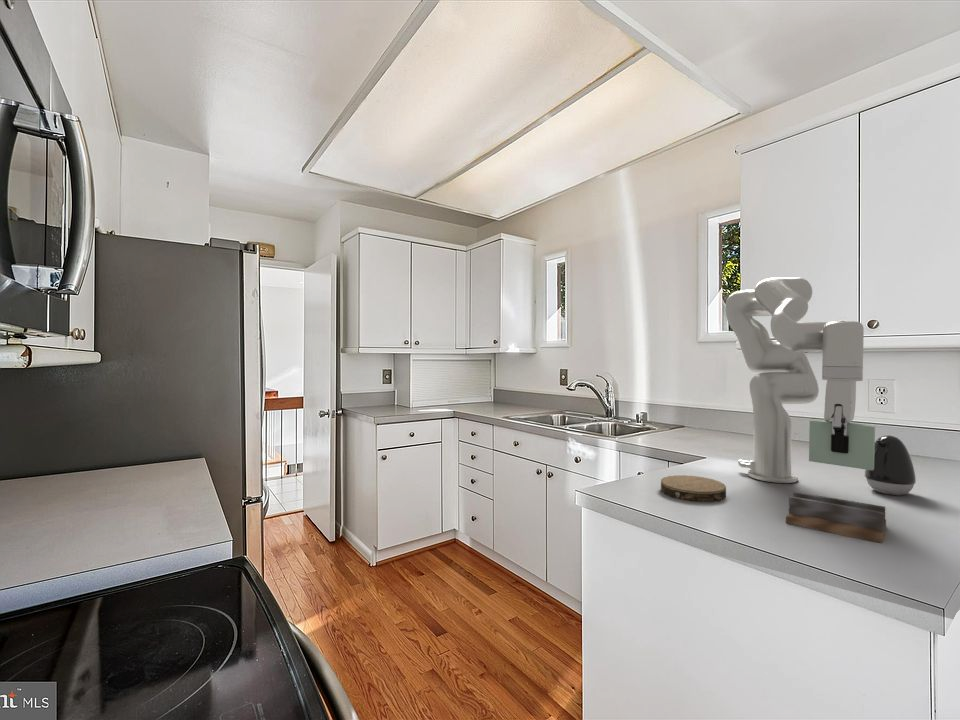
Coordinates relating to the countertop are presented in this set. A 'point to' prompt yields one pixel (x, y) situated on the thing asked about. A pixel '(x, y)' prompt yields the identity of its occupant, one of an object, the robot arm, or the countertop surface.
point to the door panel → (858, 445)
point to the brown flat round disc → (693, 488)
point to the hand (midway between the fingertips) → (840, 450)
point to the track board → (837, 516)
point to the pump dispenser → (891, 467)
